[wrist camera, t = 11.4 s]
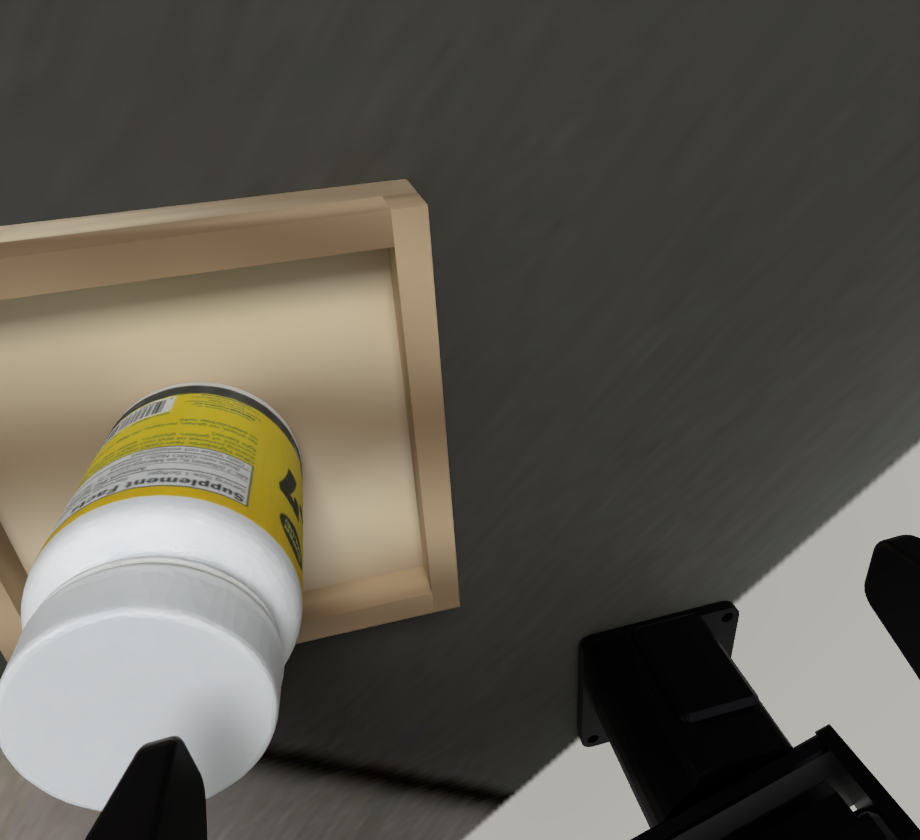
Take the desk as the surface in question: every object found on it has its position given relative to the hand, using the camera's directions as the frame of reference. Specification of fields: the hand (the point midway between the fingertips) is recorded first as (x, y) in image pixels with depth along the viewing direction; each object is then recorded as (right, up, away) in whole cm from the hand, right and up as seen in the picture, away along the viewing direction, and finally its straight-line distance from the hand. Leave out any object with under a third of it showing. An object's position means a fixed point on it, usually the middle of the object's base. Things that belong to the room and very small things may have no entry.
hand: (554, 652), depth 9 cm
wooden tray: (-8, +3, +11) cm, 14 cm away
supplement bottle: (-8, +2, +9) cm, 12 cm away
